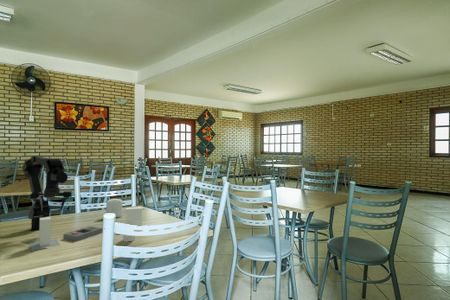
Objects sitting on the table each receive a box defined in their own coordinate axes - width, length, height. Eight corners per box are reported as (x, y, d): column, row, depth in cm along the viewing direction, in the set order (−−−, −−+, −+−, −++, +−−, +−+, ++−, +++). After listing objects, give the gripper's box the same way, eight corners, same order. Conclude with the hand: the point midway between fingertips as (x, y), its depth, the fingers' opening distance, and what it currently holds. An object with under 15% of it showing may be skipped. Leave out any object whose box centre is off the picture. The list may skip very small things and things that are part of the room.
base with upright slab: (127, 231, 151) (127, 210, 152) (124, 227, 159) (125, 207, 160) (143, 230, 156) (144, 209, 156) (140, 226, 164) (141, 206, 164)
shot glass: (124, 238, 141) (124, 224, 141) (137, 237, 141) (138, 224, 141) (120, 242, 134) (120, 228, 134) (134, 242, 134) (135, 228, 135)
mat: (30, 251, 120) (31, 249, 120) (29, 244, 128) (29, 243, 128) (59, 246, 127) (59, 245, 127) (56, 240, 135) (56, 238, 135)
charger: (40, 246, 124) (40, 220, 124) (39, 243, 128) (39, 217, 128) (50, 244, 127) (51, 218, 127) (49, 241, 131) (49, 216, 131)
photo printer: (121, 215, 188) (121, 197, 189) (122, 217, 185) (123, 198, 185) (105, 217, 183) (105, 199, 183) (106, 218, 179) (106, 200, 179)
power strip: (76, 242, 132) (76, 235, 132) (63, 240, 136) (63, 232, 136) (102, 233, 147) (102, 227, 147) (89, 231, 151) (90, 225, 151)
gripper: (27, 183, 135) (26, 215, 135) (70, 182, 143) (69, 212, 143) (33, 181, 146) (32, 210, 146) (72, 180, 153) (72, 208, 153)
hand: (51, 210), depth 146 cm, fingers open, 9 cm apart
